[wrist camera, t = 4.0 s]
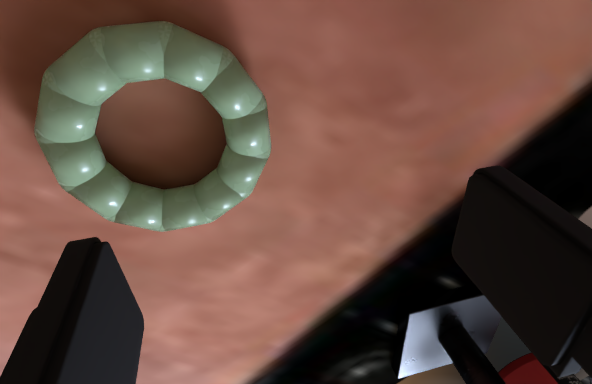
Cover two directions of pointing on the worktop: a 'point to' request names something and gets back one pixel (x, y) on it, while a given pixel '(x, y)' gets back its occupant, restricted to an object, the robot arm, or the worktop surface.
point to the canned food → (533, 373)
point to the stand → (447, 335)
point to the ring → (141, 67)
